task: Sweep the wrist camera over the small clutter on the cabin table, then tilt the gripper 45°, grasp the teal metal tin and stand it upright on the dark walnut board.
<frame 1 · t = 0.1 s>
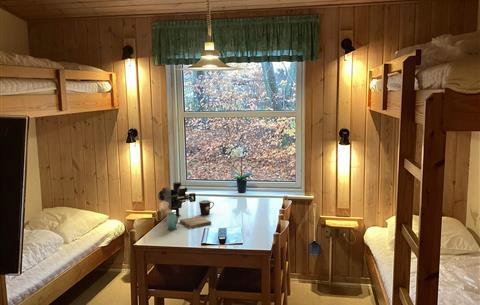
hand: (187, 201, 314), 17 cm above the table, tool horizontal, fingers open, 9 cm apart
teal tin: (172, 229, 305), on the table
coffee mug: (207, 214, 341), on the table
walnut board: (195, 223, 318), on the table
grey block: (173, 223, 320), on the table
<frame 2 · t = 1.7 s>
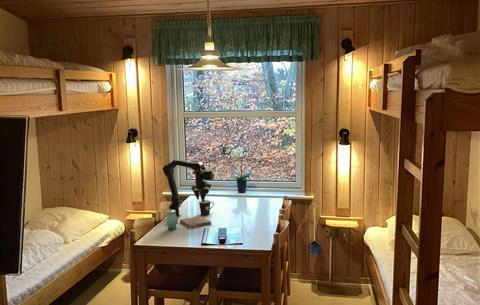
hand: (200, 200, 329), 13 cm above the table, tool pointing down, fingers open, 9 cm apart
nothing on the table moved.
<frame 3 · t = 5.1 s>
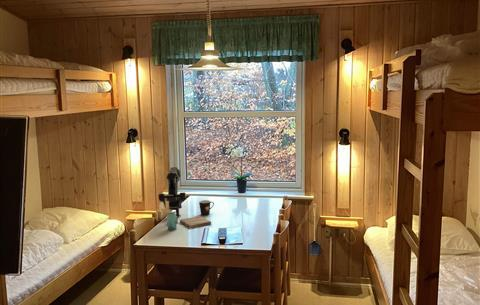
hand: (172, 207, 312), 13 cm above the table, tool tilted 45°, fingers open, 9 cm apart
nothing on the table moved.
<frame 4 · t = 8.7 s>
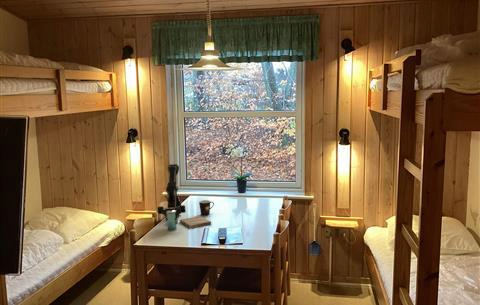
hand: (171, 220, 303), 7 cm above the table, tool tilted 45°, fingers closed on teal tin, 6 cm apart
teal tin: (172, 229, 305), on the table, touching gripper
everything else where it was.
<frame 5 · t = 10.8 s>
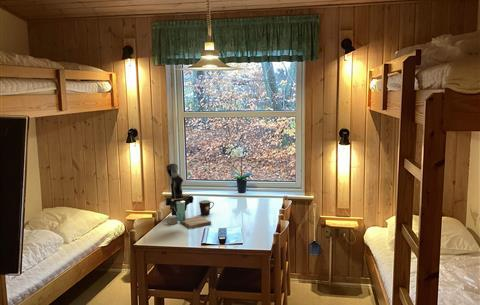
hand: (181, 211, 304), 12 cm above the table, tool tilted 45°, fingers closed on teal tin, 6 cm apart
teal tin: (181, 220, 306), point 6 cm above the table, touching gripper
everything else where it was.
when the fingers open (10 cm above the table, at t = 12.9 s): teal tin drops 1 cm, resting on walnut board.
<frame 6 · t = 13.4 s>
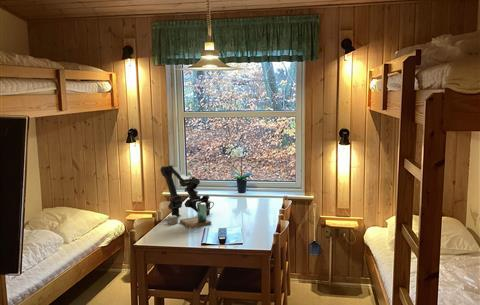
hand: (202, 210, 313), 10 cm above the table, tool tilted 45°, fingers open, 9 cm apart
teal tin: (202, 221, 315), point 2 cm above the table, touching walnut board
everything else where it was.
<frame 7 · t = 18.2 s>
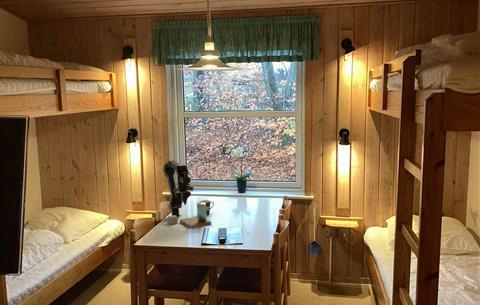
hand: (182, 203, 323), 13 cm above the table, tool pointing down, fingers open, 9 cm apart
nothing on the table moved.
at the end: teal tin inside the target area on the walnut board (5.8 cm from its centre), point 2.0 cm above the walnut board's base; teal tin tilted 0°; the gripper is holding nothing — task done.
